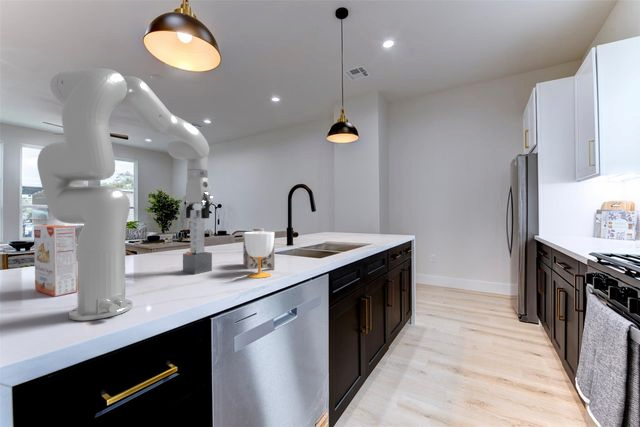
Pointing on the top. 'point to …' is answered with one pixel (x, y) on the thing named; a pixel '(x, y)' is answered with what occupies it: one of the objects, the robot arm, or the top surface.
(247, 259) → the decorative jar
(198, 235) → the column
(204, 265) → the stand base
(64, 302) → the top surface
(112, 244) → the robot arm
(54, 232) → the cracker box
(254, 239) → the cup
